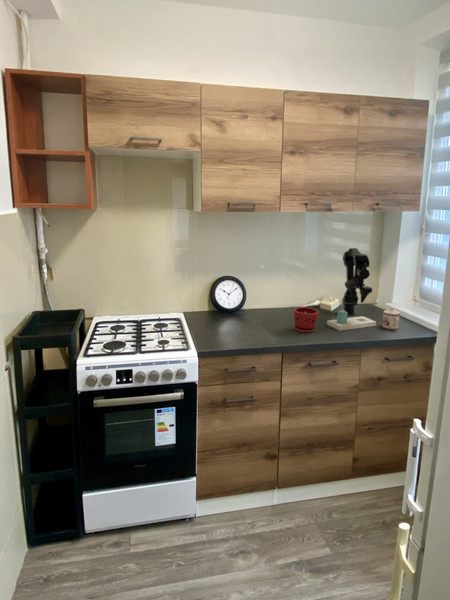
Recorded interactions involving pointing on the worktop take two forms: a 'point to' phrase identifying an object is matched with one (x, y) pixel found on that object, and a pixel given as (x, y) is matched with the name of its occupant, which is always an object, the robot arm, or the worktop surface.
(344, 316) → the plug
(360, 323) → the panel
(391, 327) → the teacup with lid
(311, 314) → the plant pot
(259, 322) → the worktop surface
